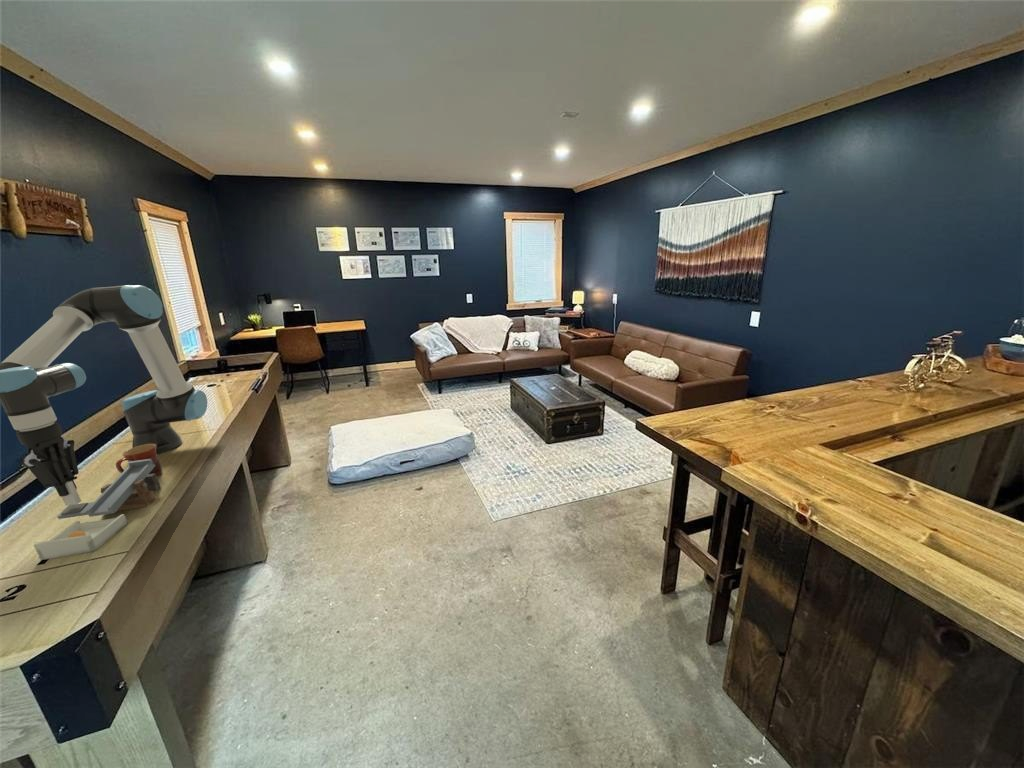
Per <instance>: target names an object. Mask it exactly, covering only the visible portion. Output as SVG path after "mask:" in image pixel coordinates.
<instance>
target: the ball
mask: <svg viewBox="0 0 1024 768" xmlns="http://www.w3.org/2000/svg"><path fill="white" fill-rule="evenodd" d="M83 535H86V533H84V532H82V531H77V532H74V533H72V534H70V535H69V537H68V538H70V537H76V536H83Z"/></svg>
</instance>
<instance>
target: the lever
mask: <svg viewBox="0 0 1024 768" xmlns="http://www.w3.org/2000/svg"><path fill="white" fill-rule="evenodd" d="M127 464H128V466H127V467H126V468H125V469H123V470H124V471H123V472H122V473H120V474H119V476H117V478H116V479H115V480H114V481H113V482H112V483H110V484H111V485H110V486H109V487H108V488H107V489H106V490H105V491H104V492H103V493H101V494H100V495H99V497H97V498H96V499H95V500H94V501H90V502H84V503H83V502H82V503H81V502H80V503H78V504H74V505H67V506H66V507H64V509H62V511H61V512H59V514H58V515H57V516H56V518H58V519H59V520H63V519H68V518H75V517H82V516H88V517H90V518H91V517H97V516H105V515H111V514H115V513H116V512H117V510H118V509H119V507H120V506H121V505H122V504H123V503H124V502H125V500H126V499H127V498H128V497H129V496H130V495H131V494H132V493H134V491H136V488H135V486H134V483H136V482H137V481H138V480H142V479H145V477H146V476H147V475H148V474H149V473H150V472H151V471H152V469H153V468H154V467H155V464H154V463H153V461H152V459H145V460H138V461H130V462H128V463H127Z"/></svg>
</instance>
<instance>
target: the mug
mask: <svg viewBox="0 0 1024 768" xmlns="http://www.w3.org/2000/svg"><path fill="white" fill-rule="evenodd" d="M121 454H122V456H123V457H121V458H120V459H118V460H117V461H116V462H115V468H116V470H117V471H118V473H120V474H121V473H122V472H123V471H124V470H125V469H124V468H123V467H122V463H123V462H125V461H127V462H128V463H129V462H130V461H138V460H145V459H152V461H153V463H154V464H155V467H154V468H153V469H152V471H151V472H150V473H149V474H155V473H156V476H157V477H158V476H159V475H160V474H161V473H163V469H162V464H161V461H160V459H159V457H158V454H156V444H145V445H140V446H137V447H134V448H132V447H131V448H129V449H126V450H125V451H123V452H122V453H121Z"/></svg>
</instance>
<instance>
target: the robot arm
mask: <svg viewBox="0 0 1024 768" xmlns="http://www.w3.org/2000/svg"><path fill="white" fill-rule="evenodd" d="M162 302H163V301H162V300H161V298H160V297H159V296H158V295H157V294H156V292H155V291H154V290H152V289H151V288H148V287H147V286H145V285H139V284H137V285H132V284H127V285H125V284H124V285H115V286H105V287H104V286H103V287H91V288H87V289H85V290H82V291H80V292H77V293H76V294H74V295H72V296H70V297H69V298H67V299H65V300H64V301H63V302H62V303H61V304H59V305H58V306H57V307H56V308H55V309H54V310H53V312H52V317H50V318H49V319H48V321H46V322H45V323H44V324H43V325H42V326H40V327H39V328H38V329H37V330H36V331H35V332H34V333H33V334H32V335H31V336H30V337H29V338H27V339H26V340H25V341H24V342H22V344H21V345H20V346H19V347H17V348H16V349H15V350H14V351H13V352H11V353H10V354H9V355H8V356H7V357H5V359H4V360H3V361H2V362H1V363H0V404H1V406H2V407H3V409H4V413H5V414H6V416H7V418H8V420H9V422H10V424H11V426H12V428H13V430H15V431H16V432H15V434H16V438H18V441H19V442H20V444H21V445H23V446H24V447H26V448H27V449H26V450H27V452H26V453H27V454H28V456H27V458H26V459H22V460H21V461H20V464H21V465H22V466H23V467H25V468H27V469H28V470H29V471H30V472H31V473H32V474H33V476H34V477H35V478H36V479H37V480H38V481H39V482H40V484H41V485H42V486H43V487H44V488H46V489H47V488H55V490H56V492H57V494H58V496H59V497H60V498H62V501H63V503H64V504H65V506H66V507H67V506H69V505H74V504H80V503H81V502H82V499H81V497H80V495H79V493H78V491H77V485H76V483H75V480H77V479H78V476H77V475H78V474H79V469H78V468H79V467H78V463H77V458H76V453H75V440H74V439H68V440H66V439H65V438H64V437H62V436H63V435H64V430H63V429H62V427H61V425H60V423H59V422H57V420H58V418H57V415H56V413H55V410H54V409H53V407H52V404H51V403H50V399H49V398H51V397H55V396H58V395H60V394H63V393H66V392H69V391H70V392H71V391H74V390H75V389H78V388H79V387H81V386H83V385H84V384H85V383H86V380H87V376H86V373H85V370H84V369H83V368H82V367H80V366H79V365H77V364H75V363H72V362H63V363H60V364H59V363H56V364H54V365H51V364H52V362H54V361H55V360H56V358H58V357H59V356H60V355H61V354H62V352H64V351H65V350H66V348H68V346H70V344H71V343H72V342H73V341H74V340H76V339H77V338H78V336H79V335H80V334H81V333H82V332H86V331H89V330H91V329H92V328H93V327H94V326H96V325H98V324H104V323H111V322H115V323H116V325H117V326H118V328H119V330H122V331H124V332H127V334H128V335H129V337H130V340H131V341H132V343H133V344H134V347H135V348H136V350H137V352H138V354H139V356H140V358H141V360H142V361H143V363H144V365H145V367H146V369H147V371H148V372H149V375H150V376H151V378H152V380H153V382H154V384H155V385H156V387H157V389H158V390H157V389H156V390H155V389H154V390H148V391H144V392H141V393H138V394H137V393H136V394H133V395H131V396H129V397H126V398H124V399H123V400H122V401H121V407H122V413H123V414H124V417H125V419H126V422H127V424H128V427H129V429H130V432H131V434H132V447H131V448H134V447H137V446H140V445H145V444H156V454H157V455H158V454H161V453H165V452H168V451H170V450H173V449H175V448H177V447H179V446H180V445H181V444H182V443H183V440H182V437H181V436H180V435H179V434H178V432H177V431H176V430H175V429H174V428H173V427H172V425H171V423H178V422H191V421H193V420H200V419H201V418H203V416H205V414H206V412H207V408H208V398H207V395H206V393H205V392H204V390H200V389H196V388H195V387H194V385H193V384H192V383H191V382H188V381H186V379H185V378H184V375H183V373H182V371H181V369H180V367H179V365H178V364H177V361H176V359H175V357H174V355H173V353H172V351H171V349H170V348H169V345H168V343H167V341H166V339H165V337H164V335H163V333H162V331H161V329H160V327H159V324H160V322H161V321H162V319H161V316H162V315H163V312H164V310H163V308H164V306H163V303H162ZM49 365H51V366H49Z"/></svg>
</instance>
